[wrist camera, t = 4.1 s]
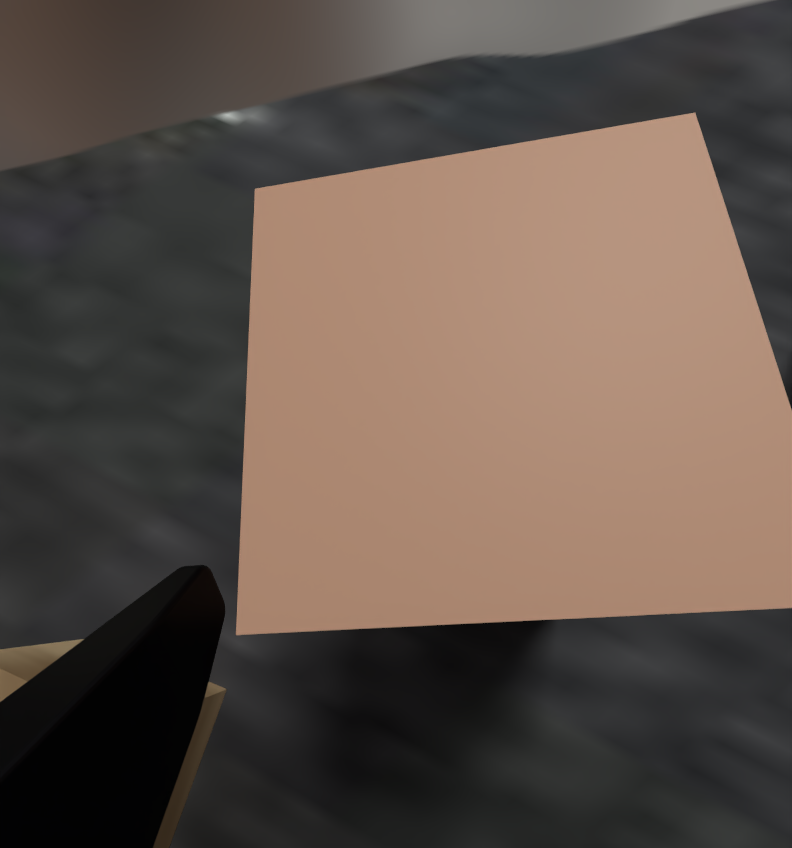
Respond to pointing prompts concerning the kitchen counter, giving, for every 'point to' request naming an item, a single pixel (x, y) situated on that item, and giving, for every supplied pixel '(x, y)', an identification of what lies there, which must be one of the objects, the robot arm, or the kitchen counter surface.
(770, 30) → the kitchen counter surface
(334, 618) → the terracotta block
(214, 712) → the honey oak cube
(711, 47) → the kitchen counter surface
